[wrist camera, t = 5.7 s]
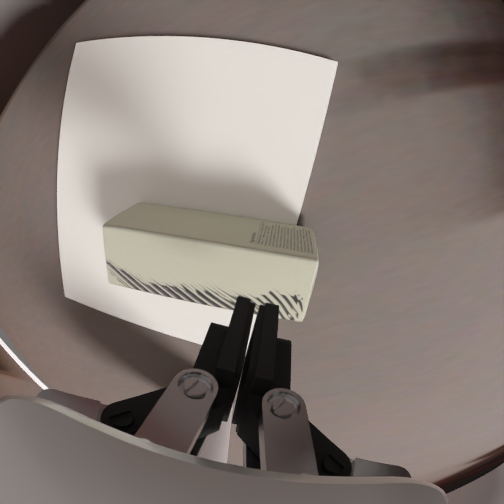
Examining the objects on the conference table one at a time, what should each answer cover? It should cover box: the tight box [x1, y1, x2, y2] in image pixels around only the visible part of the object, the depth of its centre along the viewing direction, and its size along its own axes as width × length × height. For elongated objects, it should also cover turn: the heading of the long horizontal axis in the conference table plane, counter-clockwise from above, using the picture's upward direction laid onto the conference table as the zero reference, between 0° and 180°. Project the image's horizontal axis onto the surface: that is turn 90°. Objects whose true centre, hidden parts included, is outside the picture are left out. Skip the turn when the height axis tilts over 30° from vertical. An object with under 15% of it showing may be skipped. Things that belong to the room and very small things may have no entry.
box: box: [103, 203, 319, 321], centre depth 18 cm, size 5×4×13 cm
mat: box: [57, 36, 338, 356], centre depth 20 cm, size 24×20×1 cm
